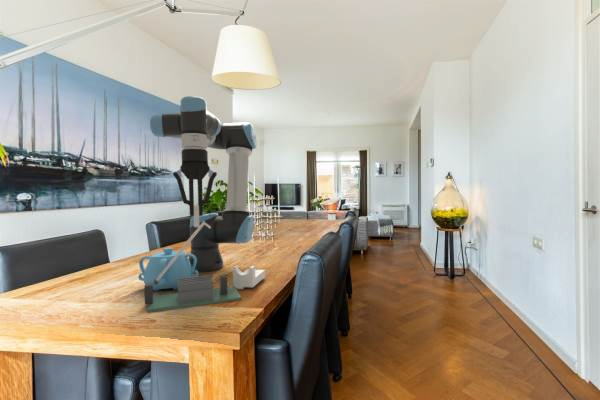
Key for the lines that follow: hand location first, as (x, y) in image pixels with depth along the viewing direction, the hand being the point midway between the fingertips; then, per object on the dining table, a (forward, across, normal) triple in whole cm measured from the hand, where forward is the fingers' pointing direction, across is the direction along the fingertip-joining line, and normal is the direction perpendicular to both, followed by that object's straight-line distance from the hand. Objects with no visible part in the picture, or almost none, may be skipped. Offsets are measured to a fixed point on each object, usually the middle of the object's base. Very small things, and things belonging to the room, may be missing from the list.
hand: (196, 226), depth 100 cm
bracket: (+23, +18, +10) cm, 31 cm away
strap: (+9, -3, 0) cm, 9 cm away
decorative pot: (+23, -9, +18) cm, 30 cm away
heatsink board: (+23, -1, 0) cm, 23 cm away
